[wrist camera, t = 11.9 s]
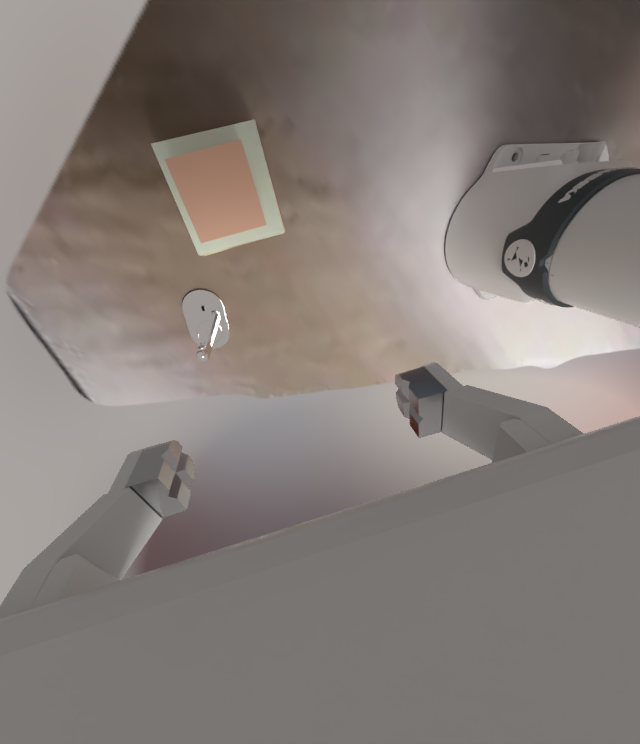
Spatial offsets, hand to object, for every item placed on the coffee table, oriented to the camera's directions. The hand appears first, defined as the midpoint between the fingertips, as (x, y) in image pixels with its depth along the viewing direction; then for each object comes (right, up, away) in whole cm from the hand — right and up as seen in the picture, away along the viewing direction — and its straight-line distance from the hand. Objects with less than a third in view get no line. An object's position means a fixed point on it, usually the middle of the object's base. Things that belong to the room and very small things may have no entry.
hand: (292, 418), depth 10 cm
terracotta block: (-7, +17, +13) cm, 22 cm away
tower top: (-8, +19, +16) cm, 26 cm away
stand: (-14, +9, +26) cm, 30 cm away
